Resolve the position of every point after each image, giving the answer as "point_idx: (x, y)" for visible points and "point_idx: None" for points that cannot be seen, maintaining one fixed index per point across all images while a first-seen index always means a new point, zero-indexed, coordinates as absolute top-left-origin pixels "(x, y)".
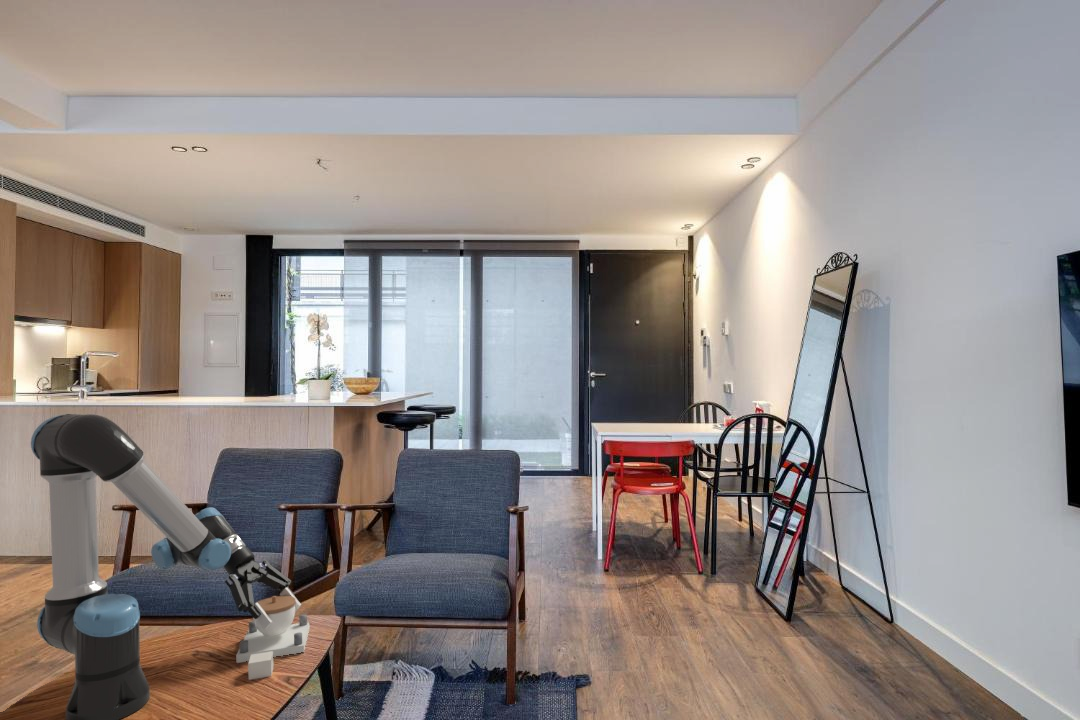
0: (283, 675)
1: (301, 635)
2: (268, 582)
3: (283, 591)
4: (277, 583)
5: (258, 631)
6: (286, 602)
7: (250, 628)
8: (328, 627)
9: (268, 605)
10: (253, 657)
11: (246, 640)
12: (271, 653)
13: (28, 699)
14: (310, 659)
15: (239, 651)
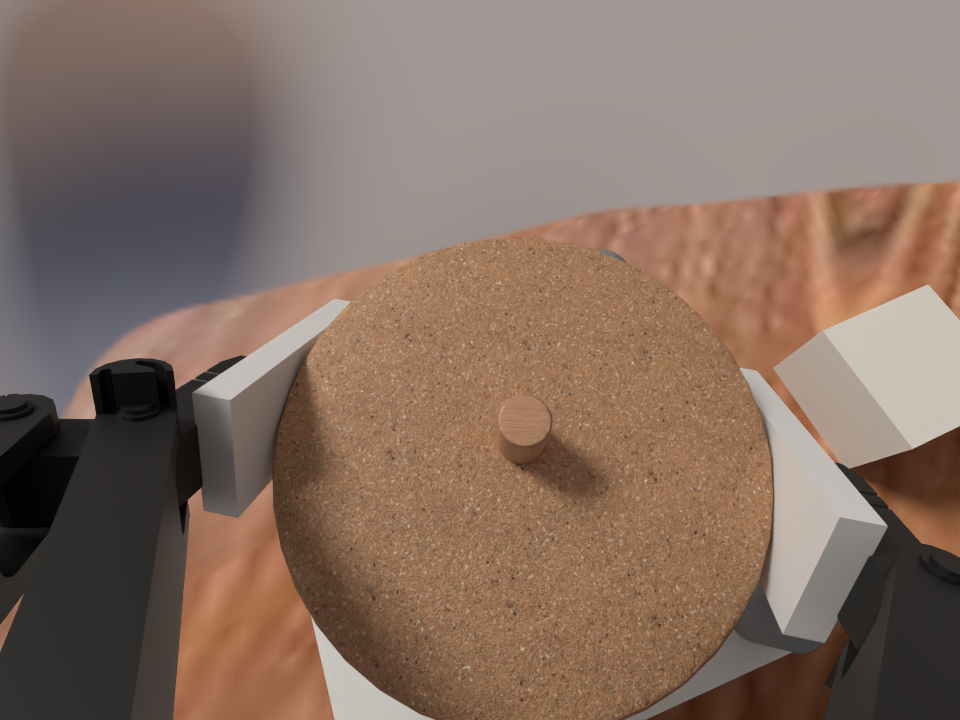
0: (841, 274)
1: (604, 253)
2: (160, 699)
3: (244, 441)
4: (169, 511)
5: (399, 713)
6: (525, 292)
7: None
8: (270, 302)
9: (634, 453)
10: (942, 407)
11: (766, 605)
12: (854, 323)
13: None
14: (662, 228)
15: (761, 652)
